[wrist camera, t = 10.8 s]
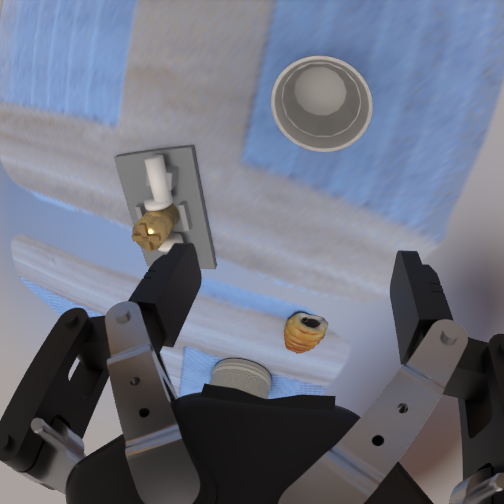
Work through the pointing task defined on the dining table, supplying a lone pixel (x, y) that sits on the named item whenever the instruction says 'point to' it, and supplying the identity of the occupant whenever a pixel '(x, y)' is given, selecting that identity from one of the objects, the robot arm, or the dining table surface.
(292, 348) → the pastry
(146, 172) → the shaft rig
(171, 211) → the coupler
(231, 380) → the jar
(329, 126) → the cup
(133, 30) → the dining table surface
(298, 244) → the dining table surface
